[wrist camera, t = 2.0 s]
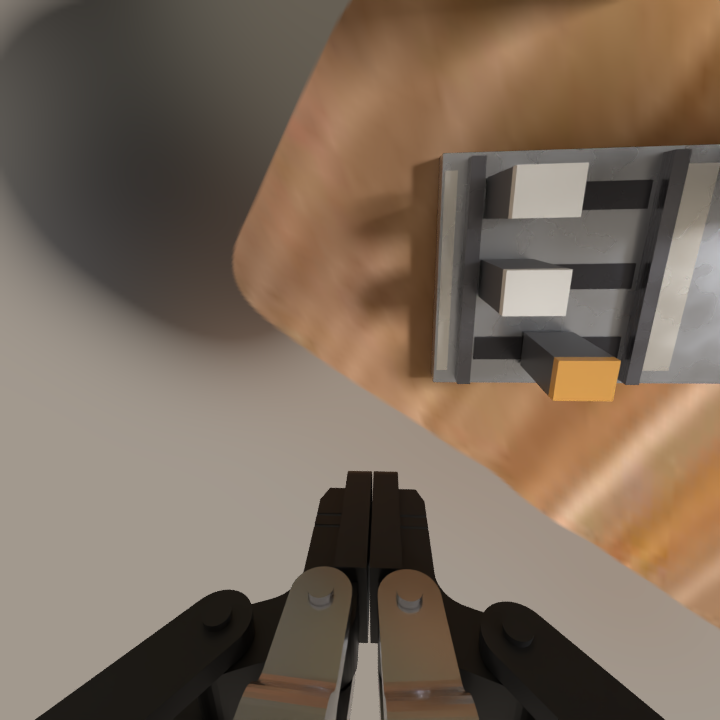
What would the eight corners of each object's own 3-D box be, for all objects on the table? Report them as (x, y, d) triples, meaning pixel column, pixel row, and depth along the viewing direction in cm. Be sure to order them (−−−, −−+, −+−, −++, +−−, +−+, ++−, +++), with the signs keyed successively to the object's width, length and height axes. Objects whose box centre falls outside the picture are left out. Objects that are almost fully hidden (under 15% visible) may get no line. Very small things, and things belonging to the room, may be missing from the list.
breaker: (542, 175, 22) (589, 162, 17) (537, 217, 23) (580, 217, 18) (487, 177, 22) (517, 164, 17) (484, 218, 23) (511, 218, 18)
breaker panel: (781, 146, 22) (828, 137, 20) (714, 375, 27) (746, 389, 25) (439, 157, 24) (445, 150, 21) (431, 373, 28) (435, 387, 26)
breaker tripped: (573, 332, 25) (621, 361, 20) (568, 365, 26) (612, 401, 21) (524, 332, 25) (558, 360, 20) (520, 365, 26) (552, 400, 21)
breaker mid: (532, 258, 24) (572, 269, 19) (528, 295, 24) (565, 315, 19) (481, 259, 24) (506, 270, 19) (478, 296, 25) (502, 316, 19)
